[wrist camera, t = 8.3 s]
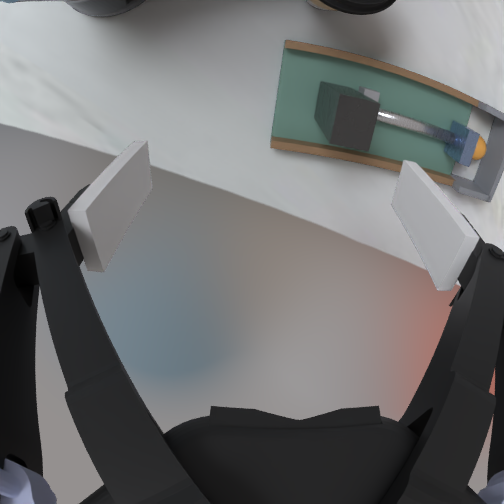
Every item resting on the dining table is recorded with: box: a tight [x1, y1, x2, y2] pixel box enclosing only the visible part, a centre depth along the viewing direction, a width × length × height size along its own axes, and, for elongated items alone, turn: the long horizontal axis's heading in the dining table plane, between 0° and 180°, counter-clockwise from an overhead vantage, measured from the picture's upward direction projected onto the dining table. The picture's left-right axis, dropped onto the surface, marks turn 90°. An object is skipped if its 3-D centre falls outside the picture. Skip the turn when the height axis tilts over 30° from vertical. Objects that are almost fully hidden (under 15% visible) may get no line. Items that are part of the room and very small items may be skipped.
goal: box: [450, 101, 504, 202], centre depth 34 cm, size 14×8×5 cm, turn 174°
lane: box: [270, 40, 479, 186], centre depth 34 cm, size 14×28×4 cm, turn 84°
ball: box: [472, 136, 486, 160], centre depth 35 cm, size 4×4×4 cm
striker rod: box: [314, 81, 480, 167], centre depth 30 cm, size 5×22×11 cm, turn 84°
